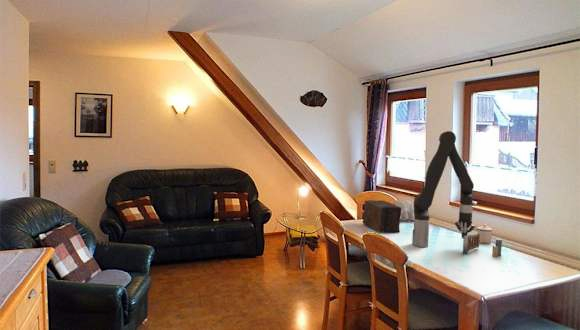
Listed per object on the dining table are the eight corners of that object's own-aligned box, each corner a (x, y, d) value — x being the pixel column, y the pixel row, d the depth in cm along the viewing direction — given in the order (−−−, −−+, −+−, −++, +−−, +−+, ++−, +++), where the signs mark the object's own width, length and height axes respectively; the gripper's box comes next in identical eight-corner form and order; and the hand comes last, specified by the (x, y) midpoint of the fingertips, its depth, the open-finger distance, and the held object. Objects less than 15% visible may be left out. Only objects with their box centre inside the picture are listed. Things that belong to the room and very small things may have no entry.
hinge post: (463, 254, 248) (464, 236, 247) (462, 253, 250) (463, 235, 249) (467, 254, 248) (468, 236, 247) (466, 253, 250) (467, 235, 249)
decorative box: (381, 224, 327) (358, 223, 321) (385, 199, 326) (362, 197, 320) (403, 235, 298) (378, 233, 292) (407, 207, 297) (382, 205, 290)
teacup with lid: (494, 243, 275) (495, 226, 274) (481, 243, 274) (482, 226, 273) (483, 238, 287) (484, 222, 286) (471, 238, 285) (472, 222, 284)
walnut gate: (467, 252, 250) (468, 237, 249) (465, 251, 251) (465, 236, 250) (478, 247, 261) (479, 233, 260) (476, 246, 262) (477, 232, 261)
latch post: (493, 256, 246) (494, 240, 245) (490, 254, 250) (491, 238, 249) (502, 256, 245) (503, 240, 245) (499, 254, 250) (500, 239, 249)
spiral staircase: (391, 224, 341) (419, 222, 346) (400, 219, 325) (429, 217, 330) (387, 203, 347) (415, 201, 352) (395, 197, 331) (424, 195, 336)
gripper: (452, 210, 262) (451, 237, 263) (473, 213, 252) (471, 241, 253) (458, 209, 267) (457, 235, 268) (479, 212, 257) (477, 239, 258)
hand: (464, 238), depth 261 cm, fingers closed
